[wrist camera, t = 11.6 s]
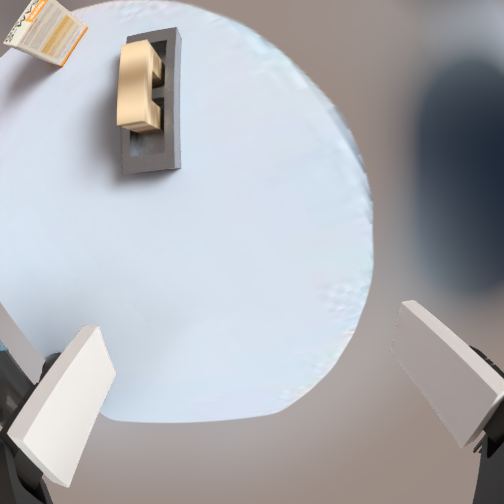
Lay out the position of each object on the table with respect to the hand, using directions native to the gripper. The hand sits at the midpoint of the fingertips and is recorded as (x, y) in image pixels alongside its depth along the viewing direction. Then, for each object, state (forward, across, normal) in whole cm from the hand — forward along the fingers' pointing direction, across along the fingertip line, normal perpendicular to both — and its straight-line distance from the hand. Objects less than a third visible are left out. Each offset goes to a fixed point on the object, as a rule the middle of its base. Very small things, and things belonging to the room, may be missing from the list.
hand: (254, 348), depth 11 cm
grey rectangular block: (+28, -10, +18) cm, 35 cm away
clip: (+27, -10, +18) cm, 34 cm away
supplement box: (+29, -27, +33) cm, 52 cm away
